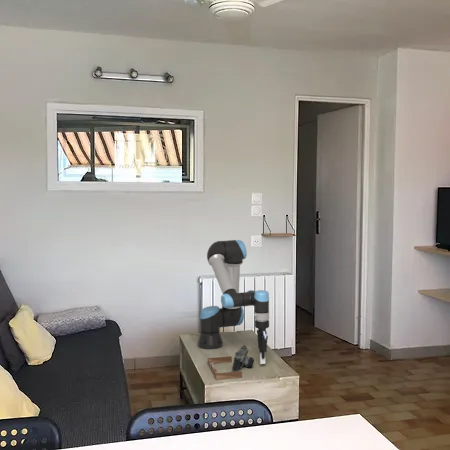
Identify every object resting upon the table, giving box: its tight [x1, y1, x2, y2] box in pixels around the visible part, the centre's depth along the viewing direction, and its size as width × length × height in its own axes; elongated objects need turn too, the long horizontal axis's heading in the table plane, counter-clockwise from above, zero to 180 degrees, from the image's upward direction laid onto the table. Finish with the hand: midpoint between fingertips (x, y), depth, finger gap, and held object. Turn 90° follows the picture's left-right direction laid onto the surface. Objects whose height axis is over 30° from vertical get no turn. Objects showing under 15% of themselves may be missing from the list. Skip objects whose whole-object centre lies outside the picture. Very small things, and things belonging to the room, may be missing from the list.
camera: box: [231, 345, 255, 372], centre depth 276 cm, size 18×9×10 cm, turn 166°
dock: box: [207, 356, 243, 381], centre depth 273 cm, size 25×13×4 cm, turn 12°
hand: (262, 363), depth 277 cm, fingers closed
